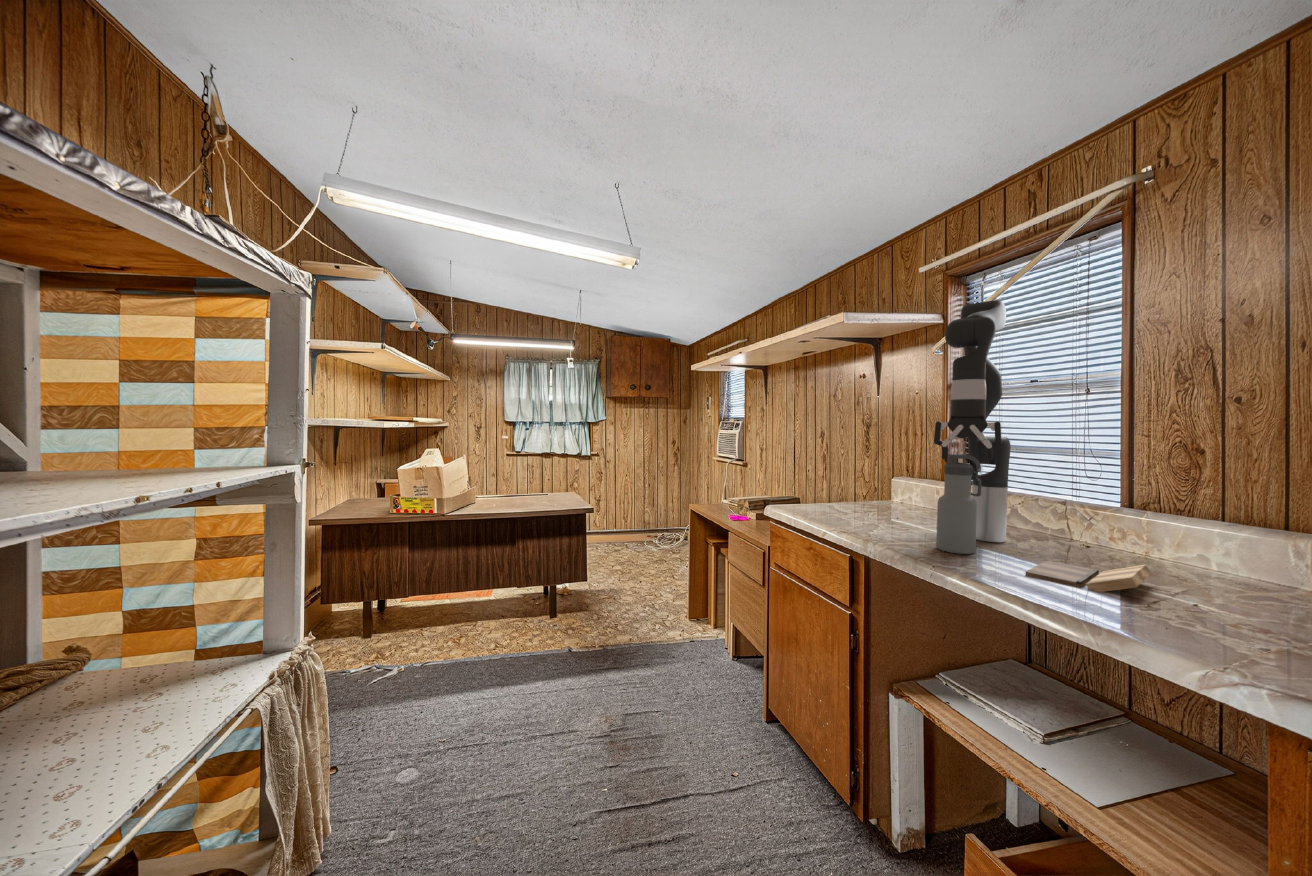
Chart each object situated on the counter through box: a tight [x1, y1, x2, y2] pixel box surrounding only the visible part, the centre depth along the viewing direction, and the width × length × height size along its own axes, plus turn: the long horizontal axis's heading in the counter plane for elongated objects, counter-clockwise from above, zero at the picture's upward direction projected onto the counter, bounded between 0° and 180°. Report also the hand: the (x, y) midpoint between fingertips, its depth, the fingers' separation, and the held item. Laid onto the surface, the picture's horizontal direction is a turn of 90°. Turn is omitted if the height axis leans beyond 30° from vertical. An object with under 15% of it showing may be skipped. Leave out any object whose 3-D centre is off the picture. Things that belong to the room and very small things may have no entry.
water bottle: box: [935, 453, 982, 555], centre depth 139 cm, size 10×10×28 cm
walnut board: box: [1024, 560, 1100, 589], centre depth 114 cm, size 16×10×2 cm, turn 127°
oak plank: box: [1085, 564, 1151, 593], centre depth 106 cm, size 16×8×2 cm, turn 127°
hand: (966, 462), depth 121 cm, fingers open, 8 cm apart
